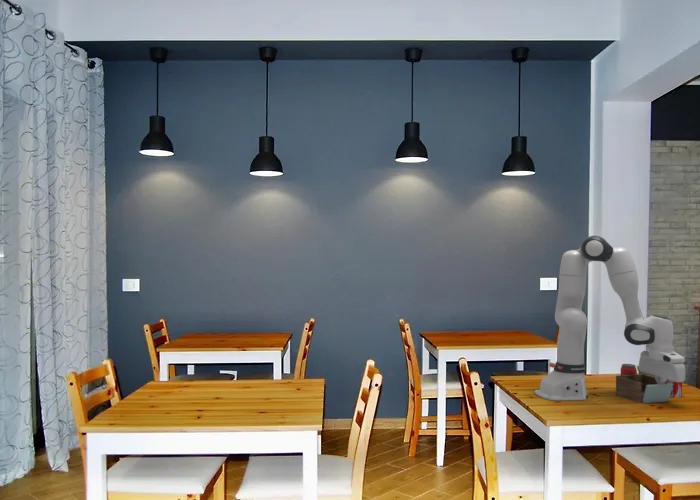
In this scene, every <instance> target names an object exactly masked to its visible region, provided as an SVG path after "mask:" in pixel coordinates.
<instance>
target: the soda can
mask: <svg viewBox="0 0 700 500" xmlns="http://www.w3.org/2000/svg"><path fill="white" fill-rule="evenodd" d="M666 380H667V381H669V383H671V384H673V386H672V390H671V393H670V397H669V398H678V399H679V398H682V397H683V382H675V381H671V380H668V379H666Z"/></svg>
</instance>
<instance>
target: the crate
mask: <svg viewBox="0 0 700 500" xmlns="http://www.w3.org/2000/svg"><path fill="white" fill-rule="evenodd" d="M666 383H669V381H667V380H666V382H665V383H664V384H666ZM653 384H657V382H656V379H655V377H653V376H649V375H646V374H639V373H637V374H634V375H621V374H620V375H615V395H616V396H620V397H623V398H626V399H628V400H631V401H634V402H637V403H639V404H641V403H642V401H643V397H644V393H645V389H646V385H653ZM642 404H643V403H642Z"/></svg>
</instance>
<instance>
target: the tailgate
mask: <svg viewBox="0 0 700 500" xmlns="http://www.w3.org/2000/svg"><path fill="white" fill-rule="evenodd" d="M672 386H673V384H671V383H666V384H653V385H646V389H645V393H644V397H643V401H642V404H650V403H651V404H652V403H660V402H661V403H663V402H669V400H670V398H671V397H670V393H671V390H672Z"/></svg>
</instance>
